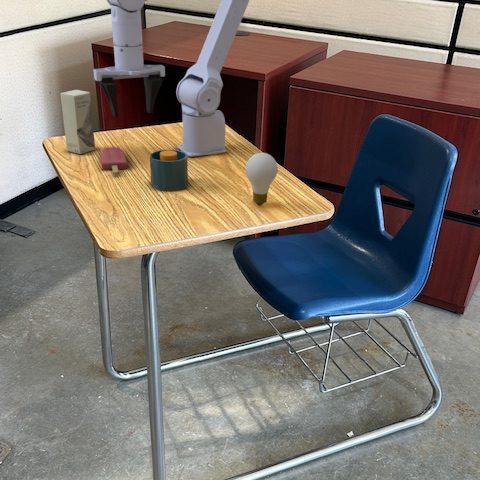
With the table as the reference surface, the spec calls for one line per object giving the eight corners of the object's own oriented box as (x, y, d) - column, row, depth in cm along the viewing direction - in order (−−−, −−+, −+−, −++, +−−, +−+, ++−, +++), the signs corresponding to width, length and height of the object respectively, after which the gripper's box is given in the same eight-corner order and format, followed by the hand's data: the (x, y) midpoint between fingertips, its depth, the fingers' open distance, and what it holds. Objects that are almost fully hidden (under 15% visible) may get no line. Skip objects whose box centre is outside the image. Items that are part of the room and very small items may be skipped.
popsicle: (102, 170, 124) (99, 147, 137) (103, 177, 125) (99, 154, 137) (128, 168, 126) (122, 146, 138) (129, 175, 126) (123, 153, 139)
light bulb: (239, 207, 114) (241, 155, 109) (250, 196, 119) (252, 146, 113) (269, 213, 113) (272, 160, 107) (278, 201, 117) (282, 151, 112)
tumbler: (179, 175, 127) (179, 147, 124) (193, 187, 122) (193, 158, 119) (146, 180, 125) (144, 152, 121) (158, 193, 119) (157, 163, 116)
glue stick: (170, 177, 125) (169, 149, 122) (181, 182, 123) (180, 153, 120) (157, 181, 123) (156, 152, 120) (169, 186, 121) (168, 156, 118)
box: (80, 155, 136) (73, 96, 129) (66, 151, 138) (58, 93, 131) (96, 149, 140) (90, 91, 133) (82, 145, 142) (76, 88, 135)
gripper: (97, 49, 115) (104, 122, 122) (169, 46, 121) (171, 115, 128) (88, 43, 120) (95, 113, 128) (157, 40, 126) (159, 107, 133)
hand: (132, 113), depth 128 cm, fingers open, 7 cm apart
